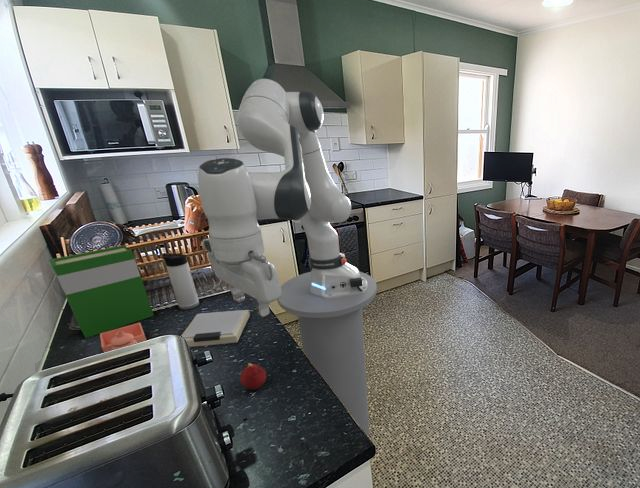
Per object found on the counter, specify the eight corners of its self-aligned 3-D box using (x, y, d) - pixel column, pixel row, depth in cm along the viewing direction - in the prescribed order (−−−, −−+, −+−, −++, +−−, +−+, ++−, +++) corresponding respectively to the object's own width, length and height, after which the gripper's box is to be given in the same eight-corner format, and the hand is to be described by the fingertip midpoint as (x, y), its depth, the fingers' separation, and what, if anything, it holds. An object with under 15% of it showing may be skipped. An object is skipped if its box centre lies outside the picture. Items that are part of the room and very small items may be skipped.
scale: (250, 315, 120) (248, 307, 119) (237, 342, 106) (235, 334, 105) (199, 319, 117) (196, 312, 116) (178, 348, 103) (175, 339, 101)
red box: (104, 345, 103) (92, 317, 99) (144, 333, 109) (134, 306, 105) (109, 376, 91) (96, 345, 87) (153, 361, 97) (142, 331, 93)
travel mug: (173, 308, 123) (157, 256, 115) (190, 300, 129) (176, 250, 121) (187, 311, 122) (171, 259, 113) (203, 303, 127) (189, 252, 119)
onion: (268, 378, 92) (263, 353, 89) (268, 393, 87) (263, 367, 84) (244, 383, 90) (238, 359, 87) (242, 399, 85) (236, 373, 82)
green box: (147, 308, 123) (125, 244, 113) (154, 315, 119) (131, 250, 109) (80, 329, 110) (49, 259, 101) (85, 338, 106) (53, 266, 96)
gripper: (284, 253, 65) (294, 317, 70) (229, 232, 76) (241, 288, 81) (251, 264, 60) (265, 330, 66) (198, 239, 71) (213, 298, 76)
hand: (251, 307), depth 74 cm, fingers open, 8 cm apart
